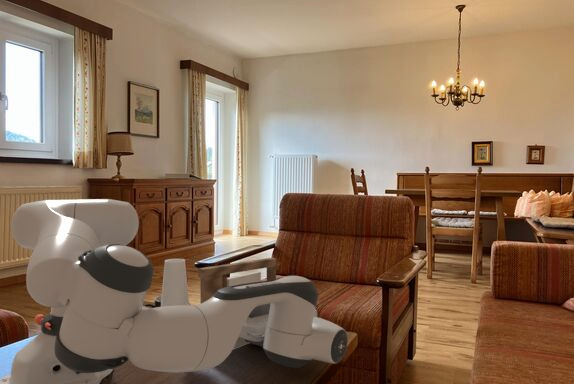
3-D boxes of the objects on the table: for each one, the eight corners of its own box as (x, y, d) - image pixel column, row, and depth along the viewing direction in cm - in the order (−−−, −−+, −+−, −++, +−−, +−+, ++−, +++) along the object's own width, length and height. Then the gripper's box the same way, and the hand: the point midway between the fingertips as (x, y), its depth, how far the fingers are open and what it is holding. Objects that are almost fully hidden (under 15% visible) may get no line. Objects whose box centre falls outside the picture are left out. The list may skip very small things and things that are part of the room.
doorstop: (261, 346, 117) (261, 307, 117) (245, 341, 121) (244, 303, 120) (275, 341, 121) (274, 303, 120) (258, 336, 125) (258, 299, 124)
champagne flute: (180, 351, 117) (180, 257, 116) (194, 359, 112) (194, 260, 111) (156, 358, 112) (155, 260, 112) (169, 367, 108) (168, 264, 107)
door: (232, 351, 116) (232, 280, 115) (224, 349, 117) (224, 278, 117) (264, 339, 125) (264, 272, 124) (256, 337, 126) (256, 271, 126)
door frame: (202, 361, 111) (202, 269, 110) (198, 358, 112) (198, 268, 112) (276, 339, 126) (276, 258, 126) (271, 337, 128) (271, 257, 127)
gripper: (257, 352, 104) (222, 337, 115) (321, 333, 118) (285, 320, 128) (257, 324, 104) (222, 311, 115) (321, 308, 118) (285, 298, 128)
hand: (256, 316), depth 121 cm, fingers closed on doorstop, 5 cm apart
